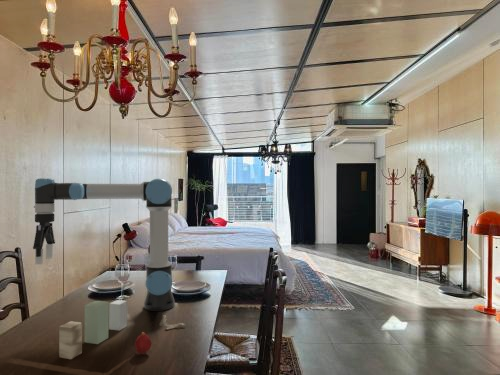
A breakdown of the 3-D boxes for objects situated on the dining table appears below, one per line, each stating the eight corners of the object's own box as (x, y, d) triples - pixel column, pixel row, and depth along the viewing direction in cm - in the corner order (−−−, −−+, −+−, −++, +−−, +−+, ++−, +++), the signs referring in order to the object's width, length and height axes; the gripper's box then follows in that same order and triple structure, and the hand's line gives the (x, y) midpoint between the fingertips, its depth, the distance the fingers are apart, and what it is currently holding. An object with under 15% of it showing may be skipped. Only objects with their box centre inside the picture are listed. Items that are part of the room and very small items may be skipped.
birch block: (70, 354, 126) (70, 321, 127) (81, 356, 125) (81, 322, 125) (59, 361, 122) (59, 326, 122) (71, 363, 120) (71, 327, 120)
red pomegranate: (136, 351, 129) (136, 329, 129) (152, 350, 130) (152, 328, 130) (132, 358, 123) (132, 335, 124) (149, 357, 124) (149, 334, 124)
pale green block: (84, 342, 134) (84, 305, 134) (95, 336, 140) (95, 300, 140) (97, 344, 132) (97, 306, 132) (108, 337, 138) (108, 301, 138)
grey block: (116, 327, 152) (117, 299, 152) (126, 329, 150) (127, 300, 150) (109, 332, 147) (109, 303, 147) (119, 333, 145) (119, 304, 146)
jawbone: (167, 335, 146) (166, 330, 146) (146, 322, 161) (145, 318, 161) (186, 328, 152) (185, 323, 152) (164, 316, 167) (163, 312, 167)
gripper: (44, 211, 168) (44, 256, 167) (24, 215, 143) (24, 267, 143) (61, 211, 169) (61, 255, 169) (44, 214, 145) (44, 266, 145)
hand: (44, 261), depth 156 cm, fingers open, 13 cm apart
